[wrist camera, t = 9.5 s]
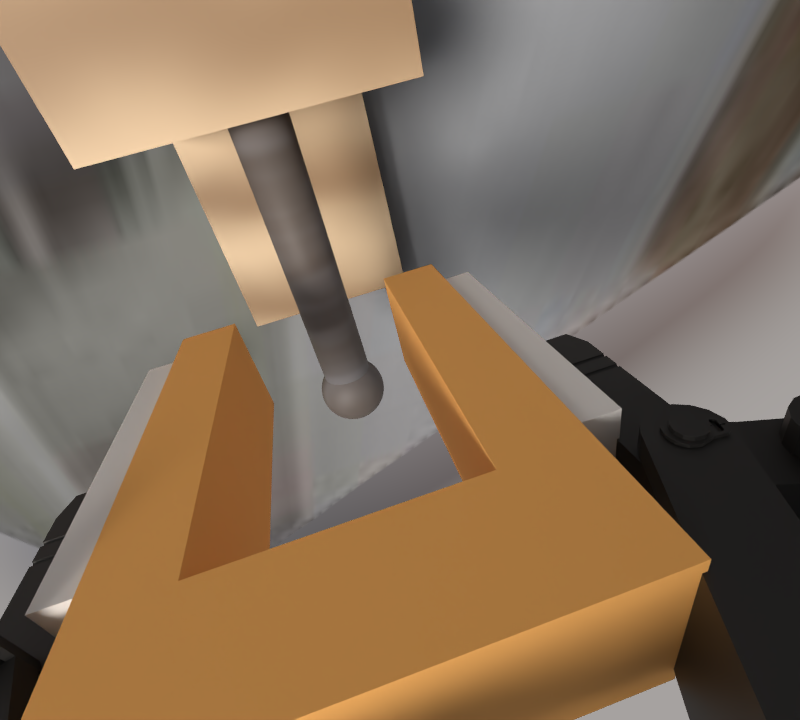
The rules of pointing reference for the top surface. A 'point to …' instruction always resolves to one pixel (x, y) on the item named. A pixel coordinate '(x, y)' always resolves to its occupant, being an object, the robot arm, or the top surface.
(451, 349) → the orange u-shaped bracket
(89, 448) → the top surface
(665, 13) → the top surface
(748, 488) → the robot arm
